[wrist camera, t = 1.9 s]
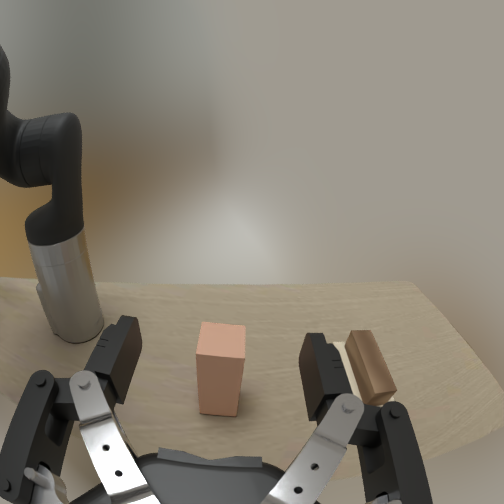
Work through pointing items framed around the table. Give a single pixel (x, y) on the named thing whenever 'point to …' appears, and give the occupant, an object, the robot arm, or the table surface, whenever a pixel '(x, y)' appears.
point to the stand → (366, 368)
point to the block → (220, 367)
